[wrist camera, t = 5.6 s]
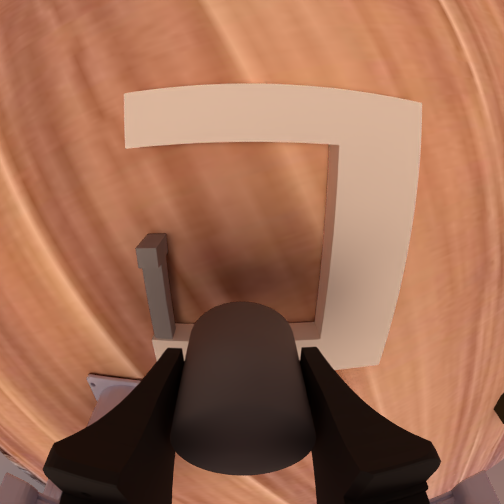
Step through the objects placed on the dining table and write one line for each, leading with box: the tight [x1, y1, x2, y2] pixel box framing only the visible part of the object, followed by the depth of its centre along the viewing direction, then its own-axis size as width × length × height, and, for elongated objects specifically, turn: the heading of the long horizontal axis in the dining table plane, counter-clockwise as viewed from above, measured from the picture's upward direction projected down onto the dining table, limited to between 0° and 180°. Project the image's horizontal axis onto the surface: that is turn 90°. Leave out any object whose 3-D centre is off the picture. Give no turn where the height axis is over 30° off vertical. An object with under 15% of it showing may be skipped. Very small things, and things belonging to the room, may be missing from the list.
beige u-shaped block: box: [124, 84, 422, 370], centre depth 17 cm, size 18×16×2 cm
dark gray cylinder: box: [170, 302, 316, 475], centre depth 11 cm, size 5×5×6 cm
